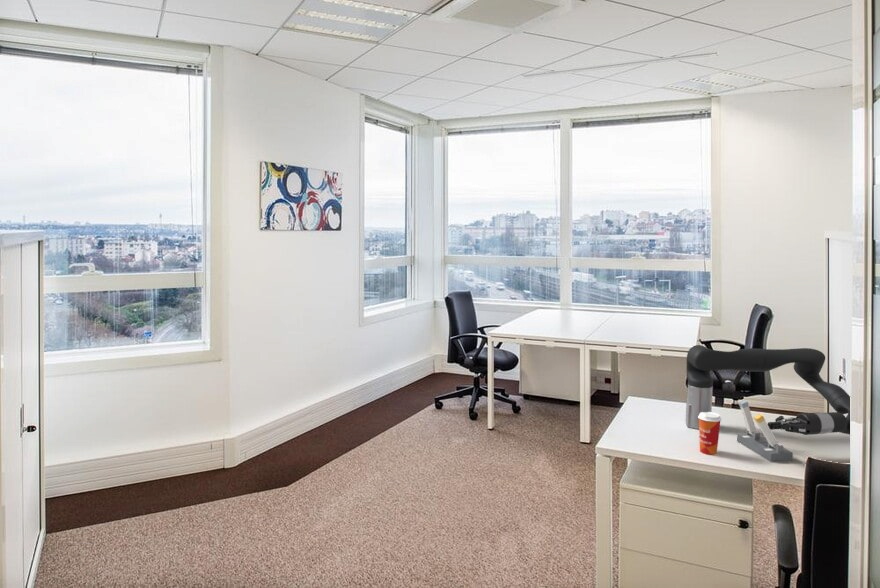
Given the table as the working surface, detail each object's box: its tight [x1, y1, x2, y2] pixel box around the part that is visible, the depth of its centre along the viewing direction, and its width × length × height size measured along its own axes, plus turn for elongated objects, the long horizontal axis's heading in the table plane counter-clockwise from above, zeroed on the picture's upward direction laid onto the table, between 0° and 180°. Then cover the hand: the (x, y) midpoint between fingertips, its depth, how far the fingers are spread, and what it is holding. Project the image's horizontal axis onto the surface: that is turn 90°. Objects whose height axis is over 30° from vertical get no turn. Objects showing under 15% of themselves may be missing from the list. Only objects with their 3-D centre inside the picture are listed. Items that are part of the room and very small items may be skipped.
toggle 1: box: [738, 399, 757, 436], centre depth 218 cm, size 2×3×14 cm
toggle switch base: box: [736, 428, 794, 463], centre depth 213 cm, size 8×20×5 cm, turn 5°
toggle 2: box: [753, 413, 779, 449], centre depth 205 cm, size 2×3×14 cm
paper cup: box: [698, 411, 722, 456], centre depth 212 cm, size 8×8×14 cm
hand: (768, 425), depth 205 cm, fingers closed
